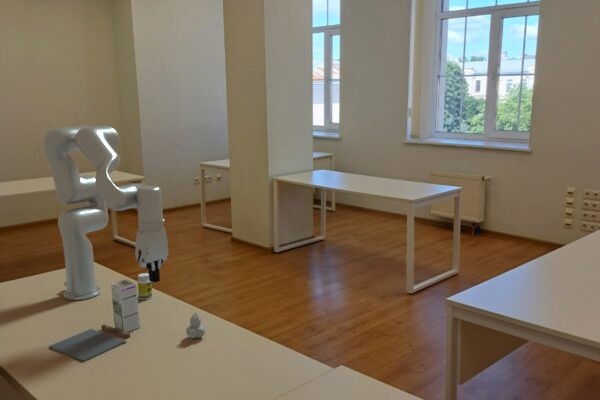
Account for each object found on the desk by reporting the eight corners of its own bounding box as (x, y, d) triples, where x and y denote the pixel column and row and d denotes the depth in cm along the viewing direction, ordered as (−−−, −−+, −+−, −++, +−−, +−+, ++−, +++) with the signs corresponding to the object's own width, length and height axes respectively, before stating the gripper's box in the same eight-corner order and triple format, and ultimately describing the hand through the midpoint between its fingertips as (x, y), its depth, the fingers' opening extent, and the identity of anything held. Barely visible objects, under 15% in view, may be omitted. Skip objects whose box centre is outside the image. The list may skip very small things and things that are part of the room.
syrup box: (140, 327, 170) (137, 282, 167) (123, 333, 165) (119, 287, 163) (131, 322, 173) (127, 278, 171) (113, 328, 169) (110, 283, 166)
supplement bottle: (150, 299, 193) (148, 276, 191) (136, 299, 193) (135, 277, 191) (154, 295, 198) (152, 272, 196) (140, 295, 198) (139, 272, 196)
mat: (48, 347, 157) (48, 346, 156) (91, 330, 168) (91, 328, 168) (83, 362, 148) (83, 360, 148) (126, 342, 159) (125, 340, 159)
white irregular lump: (208, 334, 164) (207, 308, 163) (199, 343, 158) (198, 317, 156) (191, 332, 166) (190, 307, 164) (182, 342, 159) (180, 316, 158)
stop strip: (101, 329, 169) (101, 325, 169) (104, 328, 170) (104, 324, 169) (127, 338, 162) (127, 334, 162) (130, 336, 163) (130, 333, 163)
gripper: (160, 219, 182) (164, 273, 185) (123, 229, 169) (128, 285, 173) (177, 222, 178) (180, 276, 181) (140, 232, 165) (144, 290, 169)
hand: (154, 281), depth 177 cm, fingers closed
